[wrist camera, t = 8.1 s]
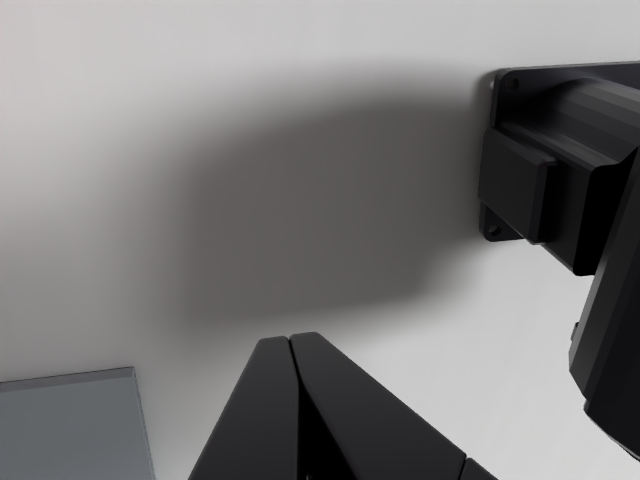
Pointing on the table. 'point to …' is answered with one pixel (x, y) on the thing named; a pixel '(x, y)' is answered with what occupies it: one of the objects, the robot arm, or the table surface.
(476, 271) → the table surface
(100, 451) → the mat
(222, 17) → the table surface
